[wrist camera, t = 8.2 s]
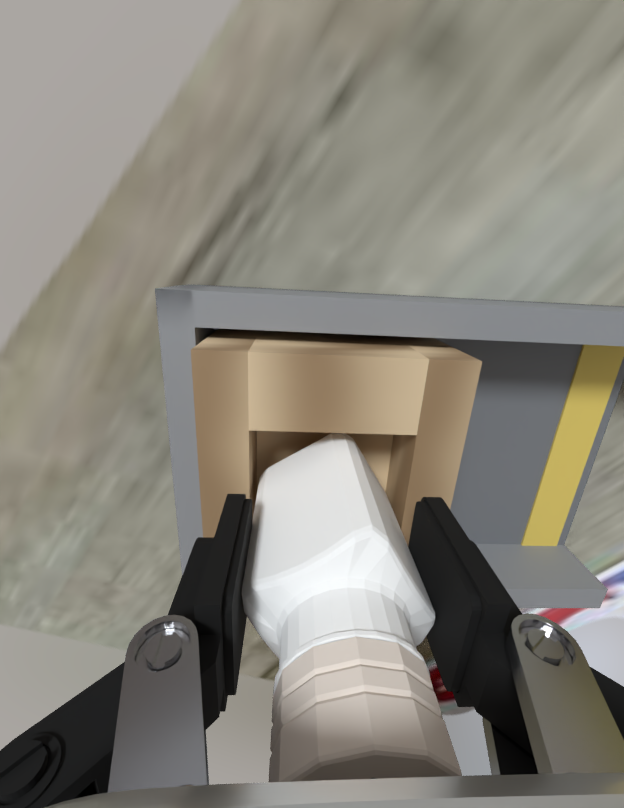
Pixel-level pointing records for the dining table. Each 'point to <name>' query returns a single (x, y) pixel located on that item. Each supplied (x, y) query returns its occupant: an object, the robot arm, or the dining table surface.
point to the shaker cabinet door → (330, 410)
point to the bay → (489, 422)
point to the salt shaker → (341, 624)
